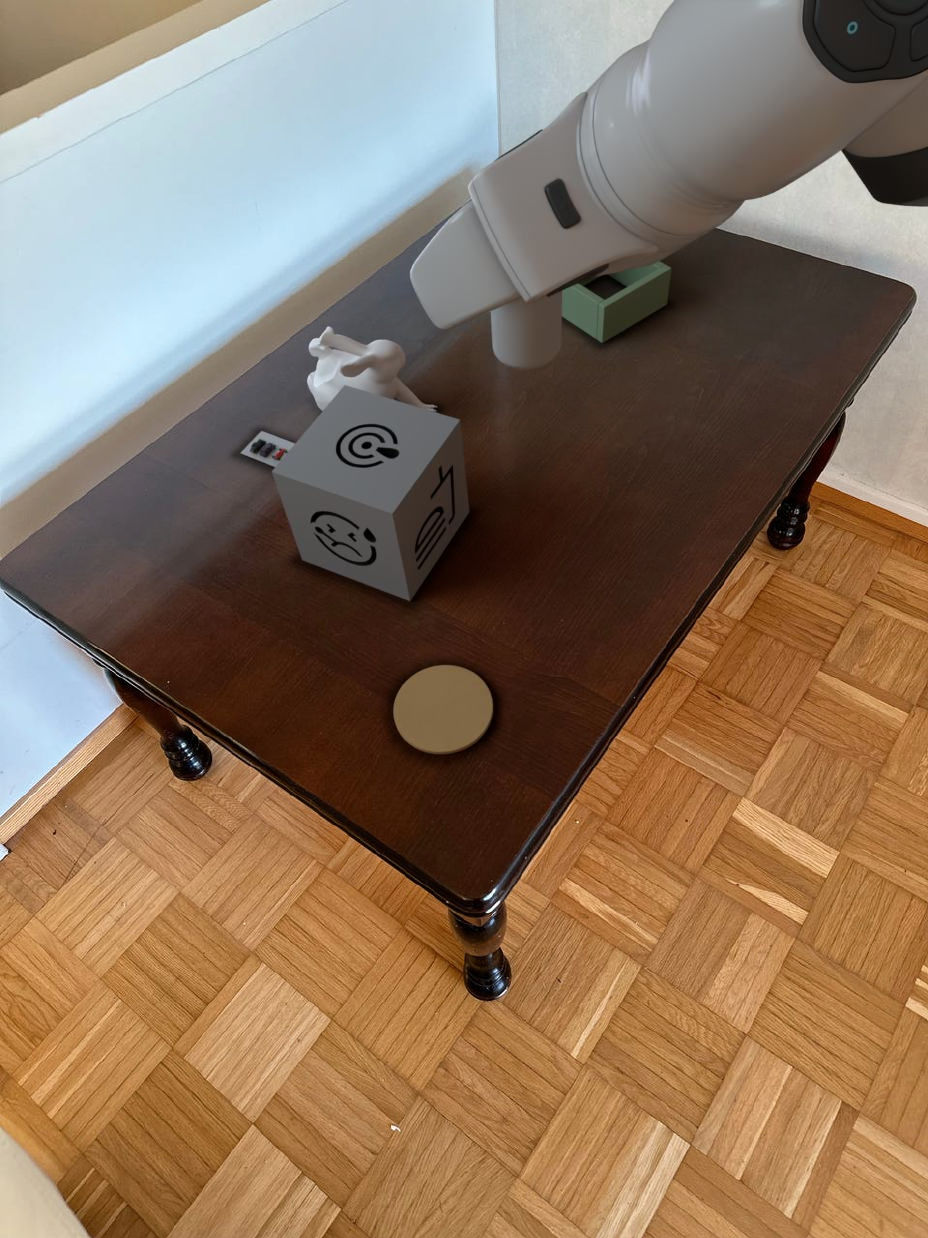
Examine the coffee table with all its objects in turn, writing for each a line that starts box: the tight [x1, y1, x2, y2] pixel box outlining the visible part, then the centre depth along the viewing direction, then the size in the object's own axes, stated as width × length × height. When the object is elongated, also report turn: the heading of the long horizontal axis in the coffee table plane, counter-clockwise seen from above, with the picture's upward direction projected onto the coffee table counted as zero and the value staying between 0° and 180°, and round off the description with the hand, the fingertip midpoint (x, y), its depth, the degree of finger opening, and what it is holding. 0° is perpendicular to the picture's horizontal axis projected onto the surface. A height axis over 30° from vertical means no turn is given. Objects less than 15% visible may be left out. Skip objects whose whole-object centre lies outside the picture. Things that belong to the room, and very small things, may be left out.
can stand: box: [562, 261, 672, 344], centre depth 83 cm, size 10×9×14 cm
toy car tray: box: [240, 430, 296, 468], centre depth 79 cm, size 3×8×1 cm, turn 60°
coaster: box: [393, 664, 494, 755], centre depth 64 cm, size 7×7×1 cm
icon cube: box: [271, 385, 470, 602], centre depth 69 cm, size 10×10×10 cm
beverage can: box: [490, 291, 563, 371], centre depth 58 cm, size 5×5×12 cm
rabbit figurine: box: [306, 326, 438, 413], centre depth 78 cm, size 12×8×10 cm, turn 62°
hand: (518, 263), depth 58 cm, fingers closed on beverage can, 5 cm apart
